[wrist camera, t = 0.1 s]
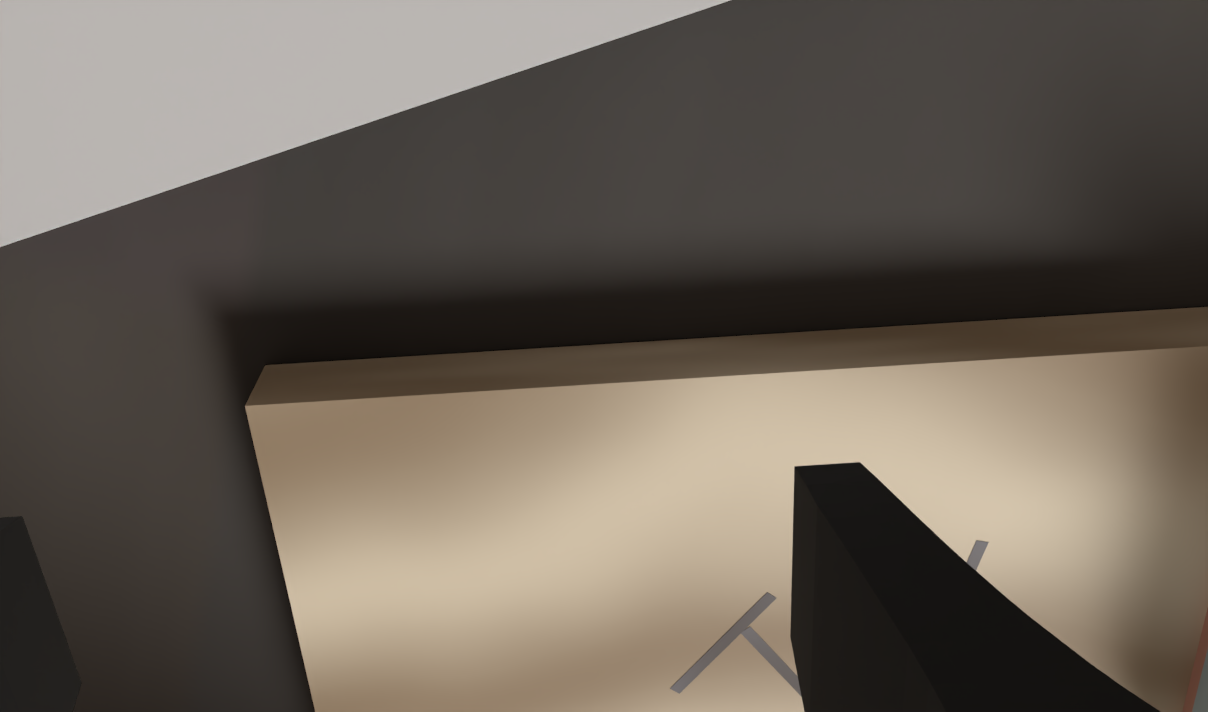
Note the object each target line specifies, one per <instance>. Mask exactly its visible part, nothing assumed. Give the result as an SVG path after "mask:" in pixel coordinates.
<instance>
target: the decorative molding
mask: <svg viewBox="0 0 1208 712" xmlns="http://www.w3.org/2000/svg"><path fill="white" fill-rule="evenodd" d="M727 1H730V0H0V247H2V246H5V245H8V244H11V243H14V242H16V241H19V240H22V239H25V238H28V237H31V236H34V235H37V234H40V233H43V232H46V231H49V230H52V229H55V228H58V227H61V226H64V225H67V224H70V223H73V222H76V221H79V220H82V219H85V218H88V217H90V216H93V215H96V214H99V213H102V212H105V211H108V210H111V209H114V208H117V207H120V206H123V205H126V204H129V203H132V202H135V201H138V200H141V199H144V198H147V197H150V196H153V195H156V194H159V193H161V192H164V191H167V190H170V189H173V188H176V187H179V186H182V185H185V184H188V183H191V182H194V181H197V180H200V179H203V178H206V177H209V176H212V175H215V174H218V173H221V172H224V171H227V170H230V169H233V168H235V167H238V166H241V165H244V164H247V163H250V162H253V161H256V160H259V159H262V158H265V157H268V156H271V155H274V154H277V153H280V152H283V151H286V150H289V149H292V148H295V147H298V146H301V145H304V144H307V143H309V142H312V141H315V140H318V139H321V138H324V137H327V136H330V135H333V134H336V133H339V132H342V131H345V130H348V129H351V128H354V127H357V126H360V125H363V124H366V123H369V122H372V121H375V120H378V119H381V118H383V117H386V116H389V115H392V114H395V113H398V112H401V111H404V110H407V109H410V108H413V107H416V106H419V105H422V104H425V103H428V102H431V101H434V100H437V99H440V98H443V97H446V96H449V95H452V94H455V93H457V92H460V91H463V90H466V89H469V88H472V87H475V86H478V85H481V84H484V83H487V82H490V81H493V80H496V79H499V78H502V77H505V76H508V75H511V74H514V73H517V72H520V71H523V70H526V69H529V68H531V67H534V66H537V65H540V64H543V63H546V62H549V61H552V60H555V59H558V58H561V57H564V56H567V55H570V54H573V53H576V52H579V51H582V50H585V49H588V48H591V47H594V46H597V45H600V44H602V43H605V42H608V41H611V40H614V39H617V38H620V37H623V36H626V35H629V34H632V33H635V32H638V31H641V30H644V29H647V28H650V27H653V26H656V25H659V24H662V23H665V22H668V21H671V20H674V19H676V18H679V17H682V16H685V15H688V14H691V13H694V12H697V11H700V10H703V9H706V8H709V7H712V6H715V5H718V4H721V3H724V2H727Z"/></svg>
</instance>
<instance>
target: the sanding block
mask: <svg viewBox="0 0 1208 712" xmlns="http://www.w3.org/2000/svg"><path fill="white" fill-rule="evenodd" d="M1182 712H1208V608H1207V612H1206V616H1205V621H1204V625H1203V629H1202V633H1201V637H1200V641H1199V645H1198V649H1197V653H1196V658H1195V662H1194V666H1193V670H1192V674H1191V678H1190V682H1189V686H1188V690H1187V695H1186V699H1185V703H1184V707H1183V711H1182Z"/></svg>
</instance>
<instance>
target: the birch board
mask: <svg viewBox="0 0 1208 712" xmlns="http://www.w3.org/2000/svg"><path fill="white" fill-rule="evenodd" d="M245 409H246V413H247V417H248V422H249V426H250V430H251V435H252V439H253V443H254V448H255V452H256V456H257V461H258V465H259V469H260V474H261V478H262V483H263V487H264V491H265V496H266V500H267V504H268V509H269V513H270V517H271V522H272V526H273V530H274V535H275V539H276V543H277V548H278V552H279V556H280V561H281V565H282V569H283V574H284V578H285V582H286V587H287V591H288V596H289V600H290V604H291V609H292V613H293V617H294V622H295V626H296V630H297V635H298V639H299V643H300V648H301V652H302V656H303V661H304V665H305V669H306V674H307V678H308V682H309V687H310V691H311V695H312V700H313V704H314V709H315V712H805V711H804V706H803V701H802V696H801V691H800V686H799V681H798V675H797V670H796V665H795V659H794V654H793V649H792V643H791V638H790V630H791V589H792V547H793V506H794V466H807V465H823V464H838V463H854V462H860V463H861V464H863V465H864V466H865V467H866V468H867V469H868V470H869V471H870V472H871V473H872V474H873V475H874V476H875V477H877V478H878V479H879V480H880V481H881V482H882V483H883V484H884V485H885V486H886V487H887V488H888V489H889V490H890V491H891V492H892V493H893V494H894V495H895V496H896V497H897V498H898V499H899V500H900V501H902V502H903V503H904V504H905V505H906V506H907V507H908V508H909V509H910V510H911V511H912V512H913V513H914V514H915V515H916V516H917V517H918V518H919V519H920V520H921V521H922V522H923V523H924V524H926V525H927V526H928V527H929V528H930V529H931V530H932V531H933V532H934V533H935V534H936V535H937V536H938V537H939V538H940V539H941V540H943V541H944V542H945V543H946V544H947V545H948V546H949V547H950V548H951V549H952V550H953V551H954V552H956V553H957V554H958V555H959V556H960V557H961V558H962V559H963V560H964V561H965V562H967V563H968V564H969V565H970V566H971V567H972V568H973V569H975V570H976V571H977V572H978V573H979V574H980V575H981V576H983V577H984V578H985V579H986V580H987V581H988V582H989V583H991V584H992V585H993V586H994V587H995V588H996V589H997V590H999V591H1000V592H1001V593H1002V594H1003V595H1004V596H1005V597H1007V598H1008V599H1009V600H1010V601H1011V602H1013V603H1014V604H1015V605H1016V606H1017V607H1019V608H1020V609H1021V610H1022V611H1023V612H1025V613H1026V614H1027V615H1028V616H1030V617H1031V618H1032V619H1033V620H1035V621H1036V622H1037V623H1038V624H1040V625H1041V626H1042V627H1044V628H1045V629H1046V630H1048V631H1049V632H1050V633H1051V634H1053V635H1054V636H1055V637H1057V638H1058V639H1059V640H1060V641H1062V642H1063V643H1064V644H1066V645H1067V646H1068V647H1070V648H1071V649H1072V650H1073V651H1075V652H1076V653H1077V654H1079V655H1080V656H1081V657H1082V658H1084V659H1085V660H1086V661H1088V662H1089V663H1091V664H1092V665H1093V666H1095V667H1096V668H1097V669H1099V670H1100V671H1102V672H1103V673H1104V674H1106V675H1107V676H1109V677H1110V678H1111V679H1113V680H1114V681H1116V682H1117V683H1118V684H1120V685H1121V686H1123V687H1124V688H1126V689H1127V690H1129V691H1130V692H1132V693H1133V694H1135V695H1136V696H1138V697H1139V698H1141V699H1142V700H1144V701H1145V702H1147V703H1148V704H1150V705H1151V706H1153V707H1154V708H1156V709H1157V710H1159V711H1160V712H1182V711H1183V707H1184V703H1185V699H1186V695H1187V690H1188V686H1189V682H1190V678H1191V674H1192V670H1193V666H1194V662H1195V658H1196V653H1197V649H1198V645H1199V641H1200V637H1201V633H1202V629H1203V625H1204V621H1205V616H1206V612H1207V608H1208V307H1196V308H1180V309H1164V310H1148V311H1132V312H1115V313H1099V314H1083V315H1067V316H1051V317H1035V318H1019V319H1002V320H986V321H970V322H954V323H938V324H922V325H906V326H890V327H873V328H857V329H841V330H825V331H809V332H793V333H777V334H761V335H744V336H728V337H712V338H696V339H680V340H664V341H648V342H631V343H615V344H599V345H583V346H567V347H551V348H535V349H519V350H502V351H486V352H470V353H454V354H438V355H422V356H406V357H389V358H373V359H357V360H341V361H325V362H309V363H293V364H277V365H265V367H264V369H263V371H262V373H261V375H260V377H259V379H258V381H257V383H256V385H255V387H254V389H253V391H252V393H251V395H250V397H249V399H248V401H247V403H246V405H245Z"/></svg>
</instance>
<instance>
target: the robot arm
mask: <svg viewBox="0 0 1208 712" xmlns="http://www.w3.org/2000/svg"><path fill="white" fill-rule="evenodd" d="M790 638H791V643H792V649H793V654H794V659H795V665H796V670H797V675H798V681H799V686H800V691H801V696H802V701H803V706H804V711H805V712H1160V711H1159V710H1157V709H1156V708H1154V707H1153V706H1151V705H1150V704H1148V703H1147V702H1145V701H1144V700H1142V699H1141V698H1139V697H1138V696H1136V695H1135V694H1133V693H1132V692H1130V691H1129V690H1127V689H1126V688H1124V687H1123V686H1121V685H1120V684H1118V683H1117V682H1116V681H1114V680H1113V679H1111V678H1110V677H1109V676H1107V675H1106V674H1104V673H1103V672H1102V671H1100V670H1099V669H1097V668H1096V667H1095V666H1093V665H1092V664H1091V663H1089V662H1088V661H1086V660H1085V659H1084V658H1082V657H1081V656H1080V655H1079V654H1077V653H1076V652H1075V651H1073V650H1072V649H1071V648H1070V647H1068V646H1067V645H1066V644H1064V643H1063V642H1062V641H1060V640H1059V639H1058V638H1057V637H1055V636H1054V635H1053V634H1051V633H1050V632H1049V631H1048V630H1046V629H1045V628H1044V627H1042V626H1041V625H1040V624H1038V623H1037V622H1036V621H1035V620H1033V619H1032V618H1031V617H1030V616H1028V615H1027V614H1026V613H1025V612H1023V611H1022V610H1021V609H1020V608H1019V607H1017V606H1016V605H1015V604H1014V603H1013V602H1011V601H1010V600H1009V599H1008V598H1007V597H1005V596H1004V595H1003V594H1002V593H1001V592H1000V591H999V590H997V589H996V588H995V587H994V586H993V585H992V584H991V583H989V582H988V581H987V580H986V579H985V578H984V577H983V576H981V575H980V574H979V573H978V572H977V571H976V570H975V569H973V568H972V567H971V566H970V565H969V564H968V563H967V562H965V561H964V560H963V559H962V558H961V557H960V556H959V555H958V554H957V553H956V552H954V551H953V550H952V549H951V548H950V547H949V546H948V545H947V544H946V543H945V542H944V541H943V540H941V539H940V538H939V537H938V536H937V535H936V534H935V533H934V532H933V531H932V530H931V529H930V528H929V527H928V526H927V525H926V524H924V523H923V522H922V521H921V520H920V519H919V518H918V517H917V516H916V515H915V514H914V513H913V512H912V511H911V510H910V509H909V508H908V507H907V506H906V505H905V504H904V503H903V502H902V501H900V500H899V499H898V498H897V497H896V496H895V495H894V494H893V493H892V492H891V491H890V490H889V489H888V488H887V487H886V486H885V485H884V484H883V483H882V482H881V481H880V480H879V479H878V478H877V477H875V476H874V475H873V474H872V473H871V472H870V471H869V470H868V469H867V468H866V467H865V466H864V465H863V464H861V463H860V462H854V463H838V464H823V465H807V466H794V506H793V547H792V589H791V630H790ZM80 686H81V680H80V677H79V675H78V672H77V669H76V666H75V663H74V661H73V658H72V655H71V652H70V649H69V646H68V644H67V641H66V638H65V635H64V632H63V630H62V627H61V624H60V621H59V618H58V616H57V613H56V610H55V607H54V604H53V601H52V599H51V596H50V593H49V590H48V587H47V585H46V582H45V579H44V576H43V573H42V571H41V568H40V565H39V562H38V559H37V556H36V554H35V551H34V548H33V545H32V542H31V540H30V537H29V534H28V531H27V528H26V525H25V523H24V520H23V517H22V516H21V517H5V518H0V712H73V709H74V706H75V702H76V699H77V696H78V693H79V689H80Z"/></svg>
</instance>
